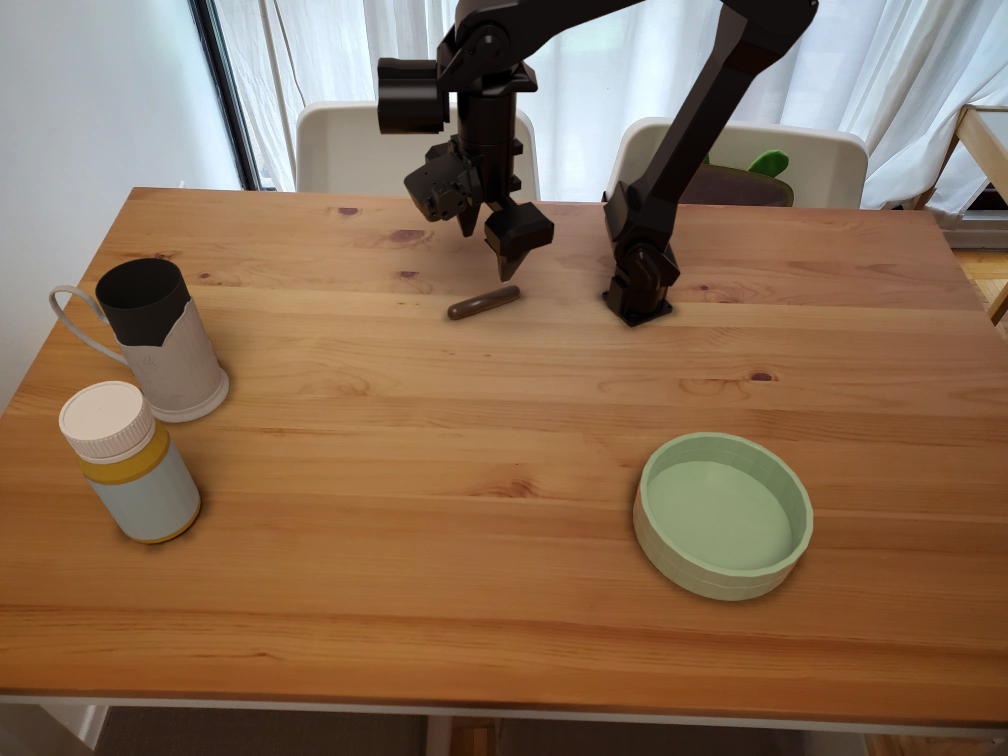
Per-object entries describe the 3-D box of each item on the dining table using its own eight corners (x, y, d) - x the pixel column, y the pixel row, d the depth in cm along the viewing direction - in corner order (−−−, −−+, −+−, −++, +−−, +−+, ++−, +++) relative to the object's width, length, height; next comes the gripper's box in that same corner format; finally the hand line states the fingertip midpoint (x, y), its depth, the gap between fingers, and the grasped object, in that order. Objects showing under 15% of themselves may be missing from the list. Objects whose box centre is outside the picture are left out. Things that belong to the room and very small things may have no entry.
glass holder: (212, 426, 74) (165, 318, 63) (78, 414, 75) (9, 306, 64) (240, 365, 80) (202, 256, 69) (116, 355, 81) (59, 246, 70)
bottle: (134, 484, 69) (69, 378, 58) (209, 480, 70) (158, 374, 59) (113, 549, 64) (38, 447, 53) (194, 544, 65) (136, 442, 54)
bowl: (722, 438, 75) (734, 410, 71) (832, 555, 66) (850, 529, 63) (601, 496, 70) (607, 468, 66) (702, 631, 61) (715, 607, 57)
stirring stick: (515, 291, 90) (516, 280, 89) (523, 299, 89) (523, 288, 88) (445, 315, 87) (444, 303, 85) (451, 324, 86) (451, 313, 84)
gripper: (374, 107, 73) (388, 233, 85) (454, 199, 62) (458, 330, 74) (471, 85, 77) (472, 209, 89) (563, 168, 66) (551, 297, 78)
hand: (485, 257), depth 82 cm, fingers open, 9 cm apart
